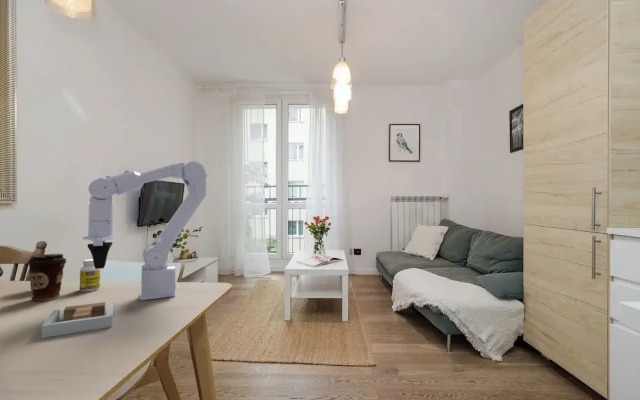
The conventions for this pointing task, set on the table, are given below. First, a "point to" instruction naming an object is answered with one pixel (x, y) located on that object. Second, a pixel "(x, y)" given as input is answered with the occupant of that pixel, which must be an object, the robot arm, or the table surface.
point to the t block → (84, 311)
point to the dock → (76, 323)
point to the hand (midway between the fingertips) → (99, 268)
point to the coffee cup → (46, 276)
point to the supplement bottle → (89, 276)
